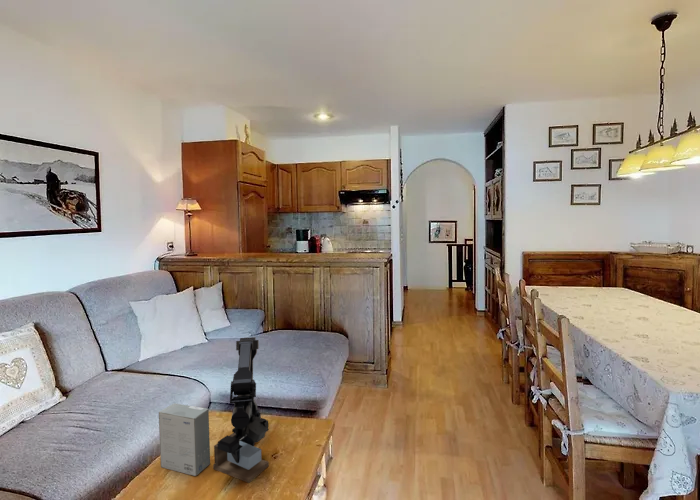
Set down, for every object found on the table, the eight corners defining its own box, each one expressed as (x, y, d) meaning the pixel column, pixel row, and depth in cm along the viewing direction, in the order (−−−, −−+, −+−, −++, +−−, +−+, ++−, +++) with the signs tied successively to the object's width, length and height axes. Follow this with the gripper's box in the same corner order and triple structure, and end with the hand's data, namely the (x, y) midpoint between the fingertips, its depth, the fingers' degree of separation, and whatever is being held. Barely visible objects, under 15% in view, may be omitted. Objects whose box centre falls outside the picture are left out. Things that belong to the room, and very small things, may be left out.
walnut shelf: (213, 468, 133) (212, 445, 133) (234, 453, 142) (233, 431, 142) (249, 482, 126) (248, 457, 126) (268, 465, 135) (268, 442, 135)
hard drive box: (211, 463, 136) (209, 408, 135) (196, 477, 129) (194, 419, 128) (176, 455, 141) (174, 402, 140) (159, 467, 134) (157, 411, 133)
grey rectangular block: (227, 460, 133) (227, 449, 133) (240, 451, 139) (240, 440, 138) (248, 469, 128) (248, 458, 128) (261, 460, 133) (261, 449, 133)
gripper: (242, 432, 120) (243, 480, 121) (279, 407, 137) (279, 449, 138) (215, 423, 125) (217, 470, 126) (254, 400, 142) (255, 441, 143)
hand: (244, 457), depth 133 cm, fingers closed on grey rectangular block, 6 cm apart
